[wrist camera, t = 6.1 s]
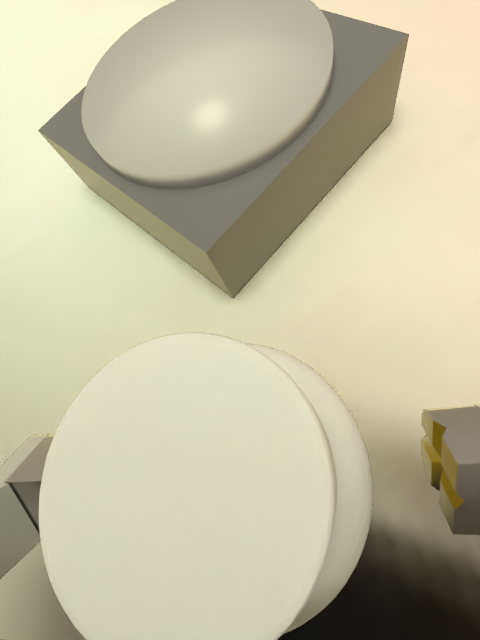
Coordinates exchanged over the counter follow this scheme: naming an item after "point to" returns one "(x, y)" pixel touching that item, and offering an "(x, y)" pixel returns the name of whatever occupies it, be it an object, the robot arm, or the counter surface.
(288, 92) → the kitchen scale
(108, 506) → the supplement bottle
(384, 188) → the counter surface
